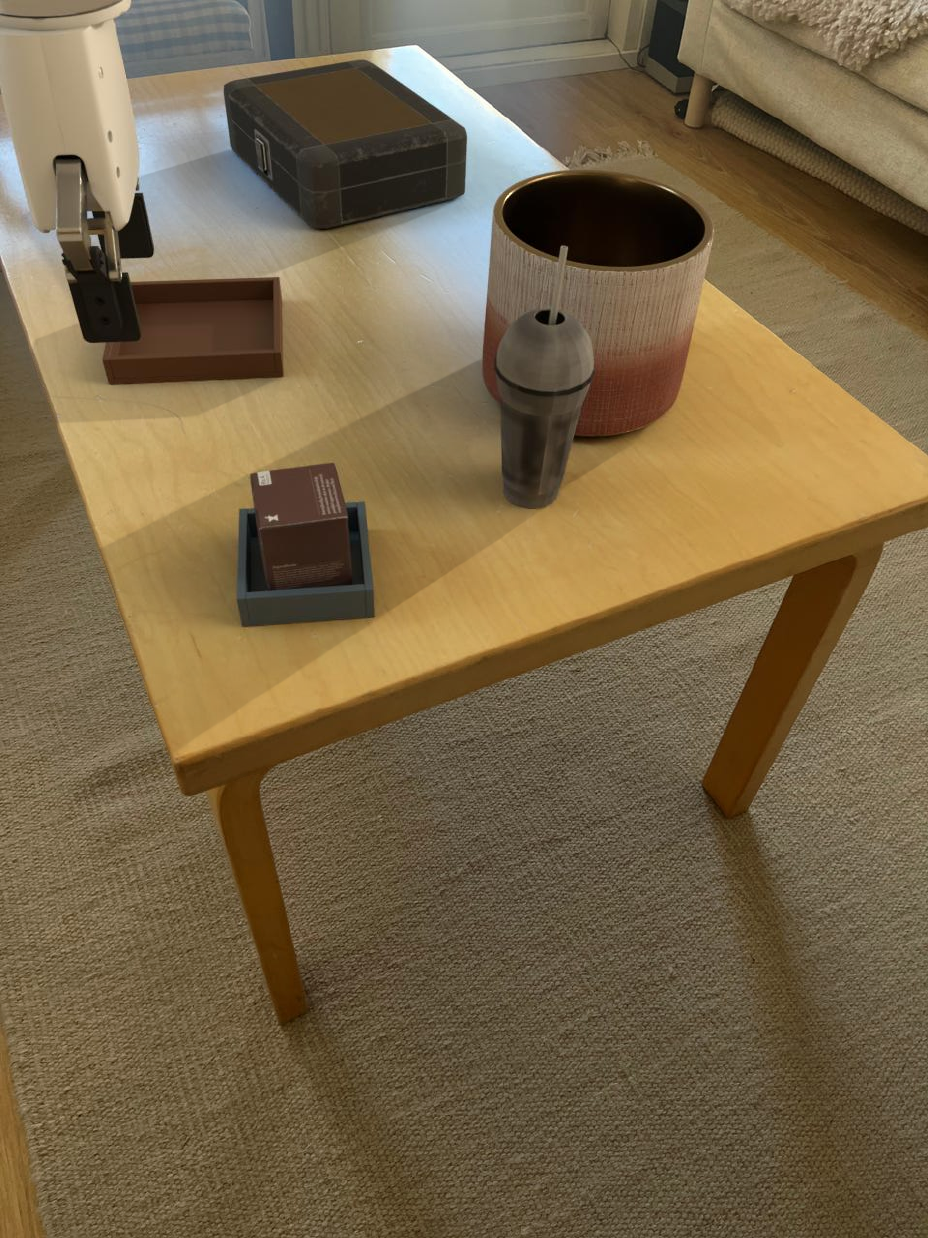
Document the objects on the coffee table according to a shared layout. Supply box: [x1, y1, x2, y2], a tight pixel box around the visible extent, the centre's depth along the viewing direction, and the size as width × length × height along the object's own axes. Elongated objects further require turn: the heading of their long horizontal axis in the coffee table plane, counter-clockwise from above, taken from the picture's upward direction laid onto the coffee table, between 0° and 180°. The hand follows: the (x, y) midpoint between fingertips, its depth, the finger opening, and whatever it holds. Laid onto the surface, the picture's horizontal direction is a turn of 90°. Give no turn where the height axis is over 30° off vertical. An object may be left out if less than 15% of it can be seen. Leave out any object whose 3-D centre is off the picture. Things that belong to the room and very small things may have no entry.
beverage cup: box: [494, 246, 595, 509], centre depth 72 cm, size 7×7×20 cm
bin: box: [236, 501, 376, 627], centre depth 71 cm, size 9×9×3 cm
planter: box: [481, 168, 715, 438], centre depth 84 cm, size 18×18×16 cm
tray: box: [102, 276, 284, 385], centre depth 91 cm, size 15×13×2 cm
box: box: [249, 462, 353, 591], centre depth 69 cm, size 6×6×7 cm
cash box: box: [223, 59, 468, 230], centre depth 115 cm, size 25×20×8 cm
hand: (122, 295), depth 60 cm, fingers open, 9 cm apart
